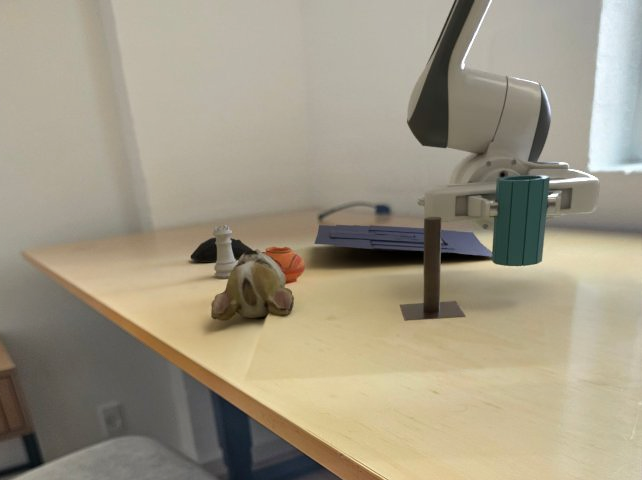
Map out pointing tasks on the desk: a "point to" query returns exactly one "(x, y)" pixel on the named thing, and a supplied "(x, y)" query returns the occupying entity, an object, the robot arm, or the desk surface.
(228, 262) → the rook chess piece
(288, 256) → the pot
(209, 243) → the gaming mouse
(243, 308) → the ceramic sculpture
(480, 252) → the papers
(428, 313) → the stand
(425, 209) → the robot arm
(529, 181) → the teal grooved cylinder
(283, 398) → the desk surface
